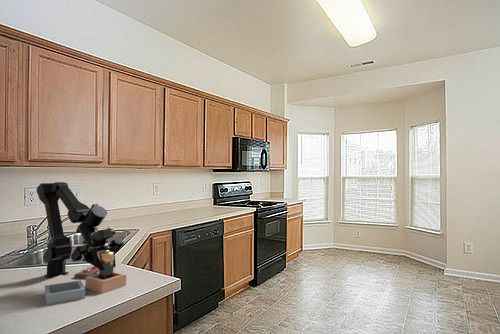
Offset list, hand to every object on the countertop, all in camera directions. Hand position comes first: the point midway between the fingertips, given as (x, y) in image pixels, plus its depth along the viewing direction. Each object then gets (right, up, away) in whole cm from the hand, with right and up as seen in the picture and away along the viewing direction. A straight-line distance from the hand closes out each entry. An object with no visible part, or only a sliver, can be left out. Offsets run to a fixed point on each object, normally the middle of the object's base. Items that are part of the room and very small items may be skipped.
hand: (108, 267), depth 122 cm
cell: (-1, -6, +1) cm, 6 cm away
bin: (-1, -8, 0) cm, 8 cm away
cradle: (-11, -8, -10) cm, 16 cm away
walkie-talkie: (-13, -9, +19) cm, 25 cm away
